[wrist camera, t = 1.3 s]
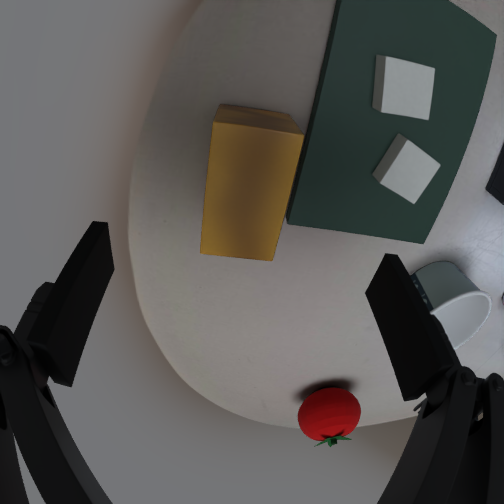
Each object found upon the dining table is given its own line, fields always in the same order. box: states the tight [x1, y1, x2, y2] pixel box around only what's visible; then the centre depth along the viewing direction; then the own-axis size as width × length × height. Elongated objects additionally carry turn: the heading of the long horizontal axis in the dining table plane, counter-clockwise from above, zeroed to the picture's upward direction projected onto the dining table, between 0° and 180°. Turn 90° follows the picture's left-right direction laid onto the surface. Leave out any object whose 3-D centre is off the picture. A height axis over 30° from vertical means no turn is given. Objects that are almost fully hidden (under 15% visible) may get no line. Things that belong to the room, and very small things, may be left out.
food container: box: [411, 261, 492, 350], centre depth 29 cm, size 12×12×6 cm
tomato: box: [298, 387, 361, 447], centre depth 42 cm, size 10×10×10 cm
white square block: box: [372, 133, 440, 204], centre depth 20 cm, size 4×4×2 cm
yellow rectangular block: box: [200, 104, 304, 261], centre depth 20 cm, size 5×9×6 cm, turn 171°
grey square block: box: [372, 55, 435, 120], centre depth 16 cm, size 4×4×2 cm
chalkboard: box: [286, 0, 497, 244], centre depth 19 cm, size 22×14×1 cm, turn 171°
